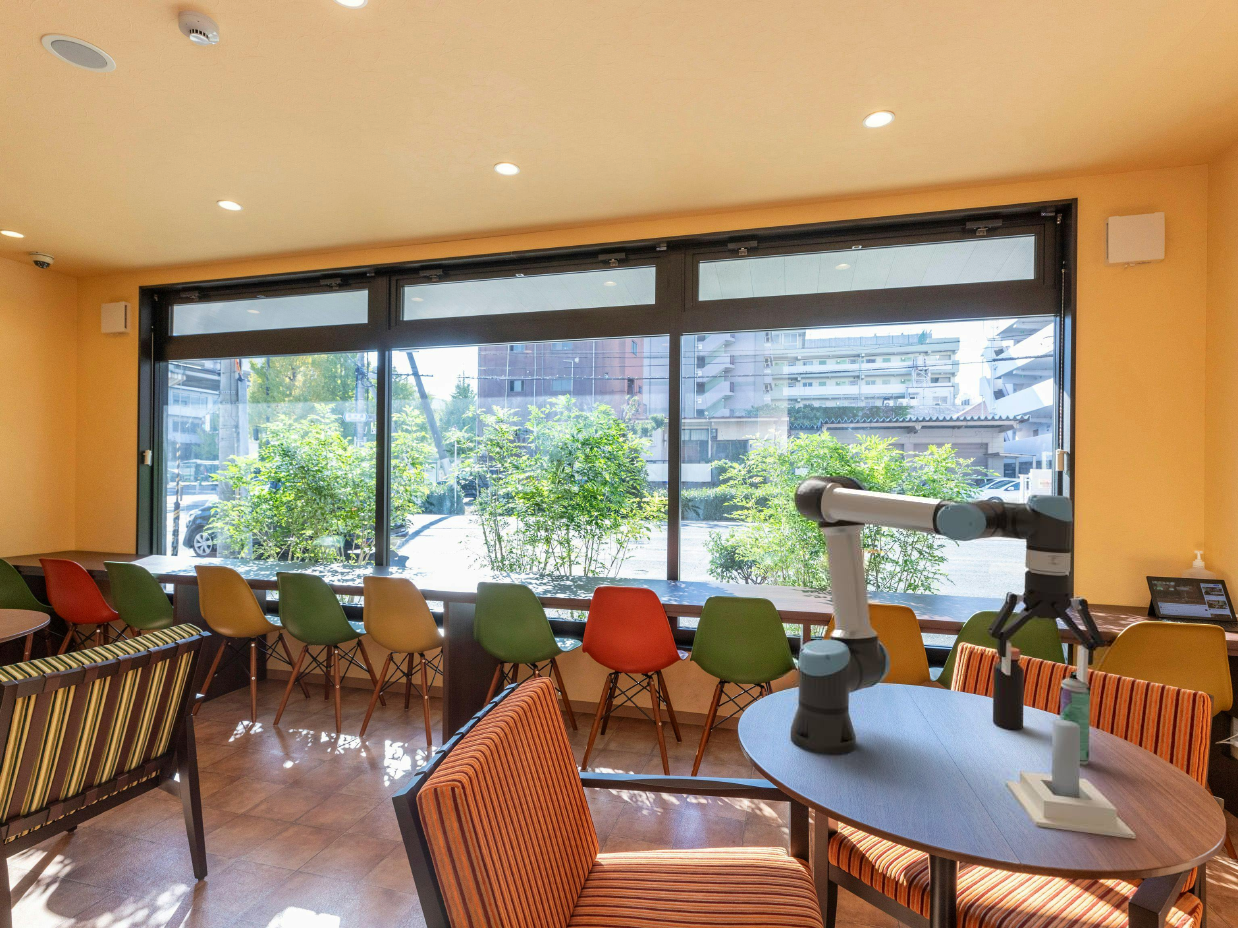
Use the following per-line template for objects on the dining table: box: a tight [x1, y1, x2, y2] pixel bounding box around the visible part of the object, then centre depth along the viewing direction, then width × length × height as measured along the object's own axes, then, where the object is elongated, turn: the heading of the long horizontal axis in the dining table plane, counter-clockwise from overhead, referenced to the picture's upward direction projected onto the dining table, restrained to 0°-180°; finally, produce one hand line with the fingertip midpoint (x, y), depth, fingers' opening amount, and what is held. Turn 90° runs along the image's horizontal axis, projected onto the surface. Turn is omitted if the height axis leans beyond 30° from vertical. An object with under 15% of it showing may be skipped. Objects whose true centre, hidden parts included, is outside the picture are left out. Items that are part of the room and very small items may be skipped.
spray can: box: [1059, 671, 1091, 766], centre depth 148 cm, size 6×6×20 cm
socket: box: [1005, 771, 1136, 840], centre depth 125 cm, size 16×16×4 cm
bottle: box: [992, 646, 1025, 731], centre depth 167 cm, size 7×7×20 cm
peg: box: [1051, 719, 1081, 798], centre depth 125 cm, size 4×4×16 cm
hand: (1043, 676), depth 129 cm, fingers open, 13 cm apart
